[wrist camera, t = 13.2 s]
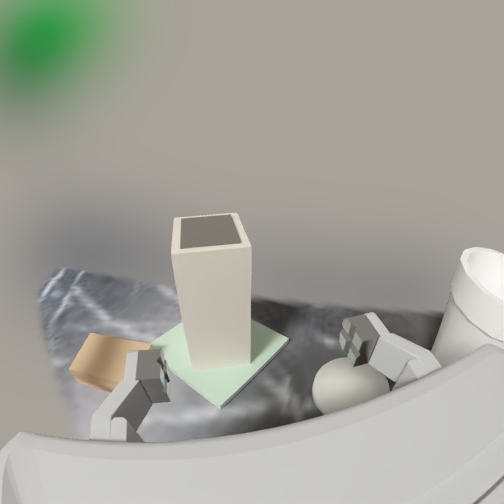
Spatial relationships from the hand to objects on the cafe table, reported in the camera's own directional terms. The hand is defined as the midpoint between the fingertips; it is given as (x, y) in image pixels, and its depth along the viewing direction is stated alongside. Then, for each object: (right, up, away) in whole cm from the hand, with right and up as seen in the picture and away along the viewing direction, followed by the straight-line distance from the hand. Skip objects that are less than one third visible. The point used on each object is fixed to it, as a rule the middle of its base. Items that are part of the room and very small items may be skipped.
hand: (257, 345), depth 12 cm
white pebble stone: (+8, -9, +10) cm, 16 cm away
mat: (-4, -5, +15) cm, 17 cm away
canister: (-4, -5, +15) cm, 16 cm away
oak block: (-13, -8, +12) cm, 19 cm away
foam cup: (+19, -9, +9) cm, 23 cm away
